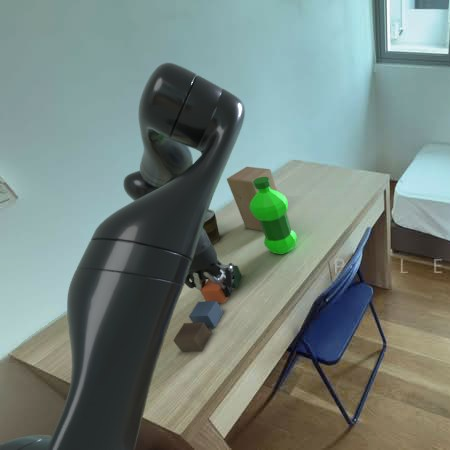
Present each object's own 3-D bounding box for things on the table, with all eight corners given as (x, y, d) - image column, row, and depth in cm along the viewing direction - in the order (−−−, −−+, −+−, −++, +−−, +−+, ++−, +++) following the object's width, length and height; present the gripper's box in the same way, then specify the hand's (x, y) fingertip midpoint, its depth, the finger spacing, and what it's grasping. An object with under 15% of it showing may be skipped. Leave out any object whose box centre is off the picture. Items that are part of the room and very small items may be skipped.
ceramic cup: (197, 235, 109) (185, 211, 103) (227, 230, 111) (217, 206, 105) (186, 258, 98) (172, 233, 92) (220, 252, 100) (208, 227, 94)
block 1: (224, 302, 80) (218, 290, 78) (207, 303, 80) (200, 291, 78) (232, 289, 84) (226, 277, 82) (215, 290, 84) (208, 278, 82)
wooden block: (245, 228, 111) (225, 178, 99) (263, 214, 119) (246, 165, 107) (269, 232, 108) (251, 181, 97) (285, 217, 116) (270, 168, 105)
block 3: (202, 351, 71) (193, 339, 68) (182, 352, 71) (172, 340, 68) (211, 334, 74) (203, 322, 72) (192, 335, 74) (184, 323, 72)
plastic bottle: (276, 238, 105) (253, 171, 91) (305, 240, 104) (286, 173, 89) (260, 257, 97) (233, 187, 83) (291, 260, 96) (269, 189, 81)
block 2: (215, 327, 76) (207, 315, 73) (196, 328, 76) (188, 316, 73) (223, 312, 80) (216, 300, 77) (205, 313, 80) (198, 301, 77)
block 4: (236, 288, 87) (230, 276, 84) (220, 289, 87) (213, 277, 84) (242, 277, 90) (237, 265, 88) (227, 277, 90) (221, 266, 88)
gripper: (229, 235, 75) (251, 284, 85) (171, 238, 75) (199, 286, 85) (215, 255, 69) (240, 305, 79) (151, 258, 69) (185, 308, 79)
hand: (219, 295), depth 82 cm, fingers closed on block 1, 4 cm apart
